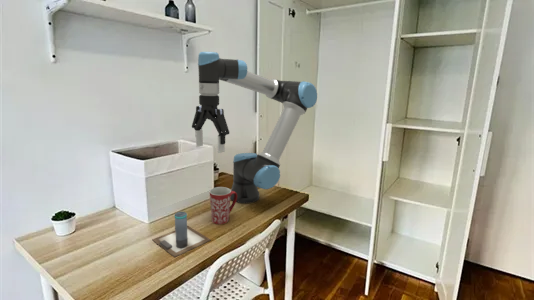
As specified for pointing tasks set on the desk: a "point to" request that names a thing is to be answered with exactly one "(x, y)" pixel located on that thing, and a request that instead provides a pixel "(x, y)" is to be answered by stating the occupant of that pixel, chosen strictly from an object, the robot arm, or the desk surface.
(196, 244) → the clipboard
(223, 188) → the mug
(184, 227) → the grey cylinder
